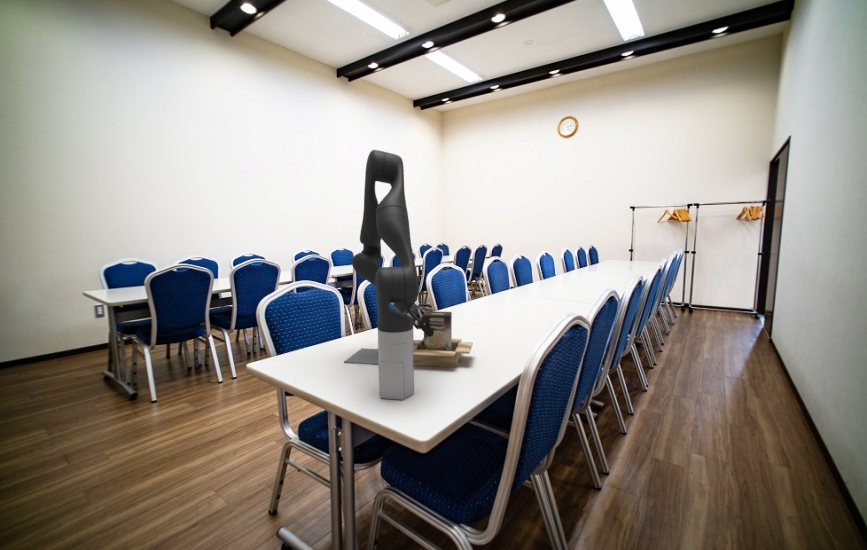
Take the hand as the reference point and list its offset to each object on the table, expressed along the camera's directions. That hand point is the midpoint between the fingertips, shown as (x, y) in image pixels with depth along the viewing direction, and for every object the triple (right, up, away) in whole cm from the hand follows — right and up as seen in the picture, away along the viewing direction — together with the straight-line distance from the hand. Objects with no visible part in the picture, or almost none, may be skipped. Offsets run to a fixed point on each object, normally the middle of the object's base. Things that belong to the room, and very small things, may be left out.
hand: (434, 332), depth 122 cm
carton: (+1, -10, +1) cm, 10 cm away
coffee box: (+1, -10, +1) cm, 10 cm away
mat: (-21, -9, +5) cm, 24 cm away
